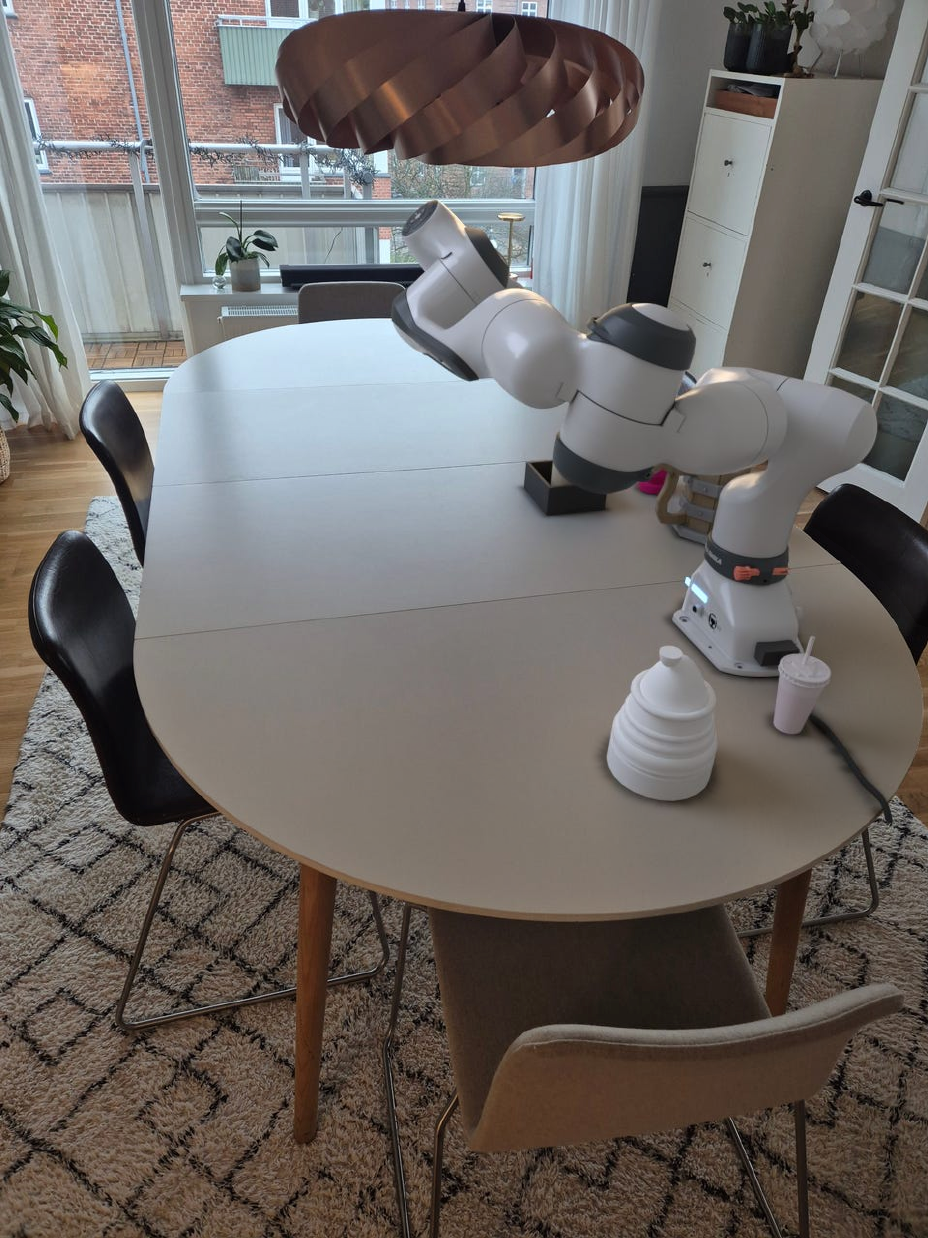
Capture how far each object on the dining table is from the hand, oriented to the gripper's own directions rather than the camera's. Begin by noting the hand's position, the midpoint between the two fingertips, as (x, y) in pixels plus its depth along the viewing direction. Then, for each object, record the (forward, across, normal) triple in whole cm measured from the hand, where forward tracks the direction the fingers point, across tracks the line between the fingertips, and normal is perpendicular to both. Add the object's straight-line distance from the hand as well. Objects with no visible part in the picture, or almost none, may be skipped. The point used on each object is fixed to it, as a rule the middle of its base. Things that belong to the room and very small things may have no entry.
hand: (523, 344), depth 147 cm
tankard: (+43, +20, -4) cm, 48 cm away
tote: (+34, -3, -13) cm, 37 cm away
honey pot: (+7, +65, -40) cm, 76 cm away
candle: (+34, -3, -12) cm, 36 cm away
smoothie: (+22, +68, -26) cm, 76 cm away
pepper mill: (+49, +2, +1) cm, 49 cm away
